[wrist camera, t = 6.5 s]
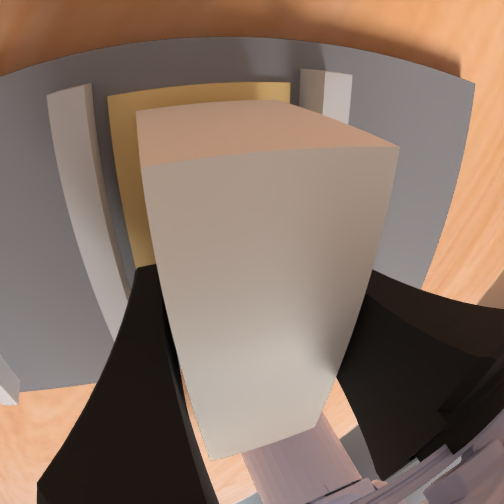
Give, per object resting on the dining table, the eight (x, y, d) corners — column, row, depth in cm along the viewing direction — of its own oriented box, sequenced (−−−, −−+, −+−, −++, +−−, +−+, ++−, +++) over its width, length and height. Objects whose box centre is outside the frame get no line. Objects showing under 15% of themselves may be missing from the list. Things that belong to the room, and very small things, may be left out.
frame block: (265, 335, 14) (314, 427, 10) (178, 357, 13) (210, 461, 9) (276, 99, 8) (400, 146, 5) (135, 111, 7) (140, 167, 3)
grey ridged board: (410, 282, 20) (433, 304, 18) (1, 379, 12) (-4, 416, 11) (461, 79, 12) (497, 91, 10) (-113, 139, 5) (-148, 162, 3)
